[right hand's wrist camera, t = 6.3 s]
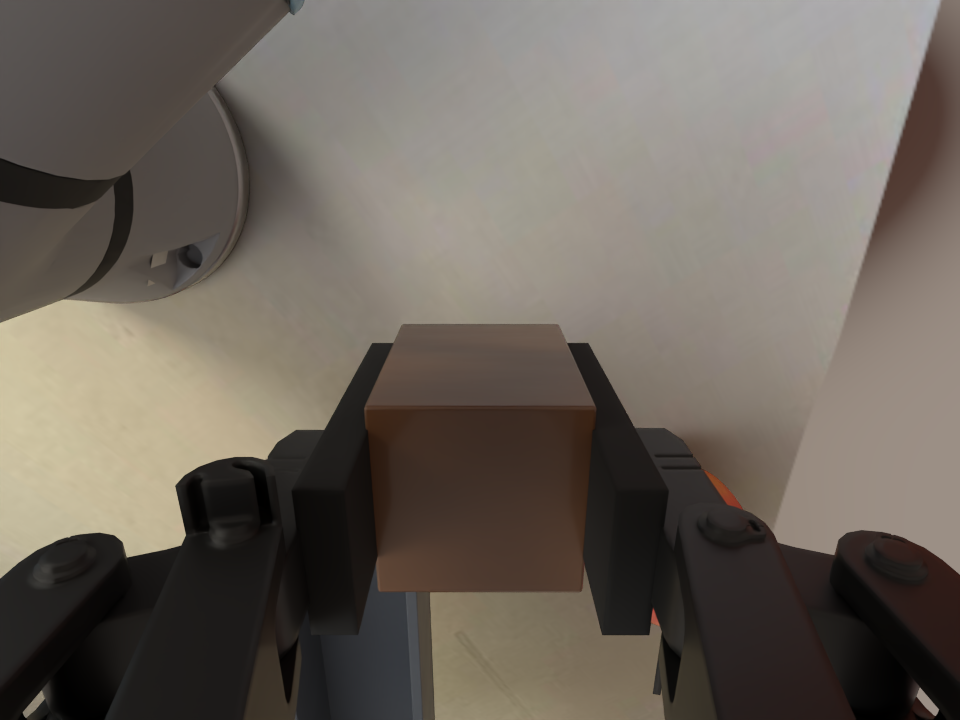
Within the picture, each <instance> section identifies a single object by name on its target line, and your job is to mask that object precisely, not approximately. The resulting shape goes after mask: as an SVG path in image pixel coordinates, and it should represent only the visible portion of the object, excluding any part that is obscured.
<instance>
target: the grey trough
mask: <svg viewBox="0 0 960 720" xmlns="http://www.w3.org/2000/svg"><path fill="white" fill-rule="evenodd" d="M298 635H299V642H300V648H301V655H302V661H301V670H300V679H299V688H298V698H297V707H296V716H295V720H435V713H434V688H433V664H432V639H431V614H430V592H380V591H379V590H378V583H377V570H376V566H375V570H374V574H373V578H372V582H371V586H370V590H369V594H368V598H367V602H366V606H365V610H364V614H363V618H362V622H361V626H360V630H359V634H358V635H311V630H310V623H309V616H308V610H307V613H306V615H305V618H304V621H303V623H302V626H301V629H300V631H299V634H298Z"/></svg>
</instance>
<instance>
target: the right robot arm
mask: <svg viewBox="0 0 960 720" xmlns="http://www.w3.org/2000/svg"><path fill="white" fill-rule="evenodd" d="M303 3H304V0H0V322H3V321H6V320H9V319H11V318H14V317H17V316H20V315H22V314H25V313H28V312H30V311H33V310H36V309H39V308H41V307H44V306H47V305H49V304H52V303H54V302H57V301H60V300H63V299H67V300H79V301H92V302H104V303H137V302H145V301H152V300H157V299H161V298H165V297H168V296H170V295H173V294H176V293H178V292H180V291H182V290H184V289H187V288H189V287H191V286H193V285H195V284H197V283H198V282H200V281H202V280H203V279H205V278H206V277H208V276H209V275H210V274H211V273H212V272H214V271H215V270H216V269H217V268H218V267H219V266H220V265H221V264H222V263H223V262H224V260H225V259H226V258H227V256H228V255H229V254H230V252H231V251H232V249H233V247H234V246H235V244H236V242H237V240H238V238H239V236H240V233H241V231H242V228H243V225H244V222H245V219H246V214H247V209H248V202H249V171H248V164H247V158H246V153H245V149H244V146H243V142H242V139H241V136H240V133H239V130H238V128H237V125H236V123H235V121H234V119H233V117H232V114H231V112H230V110H229V109H228V107H227V105H226V104H225V102H224V100H223V98H222V97H221V95H220V94H219V93H218V91H217V90H216V88H215V87H214V85H215V84H216V83H217V82H218V81H219V80H220V79H221V78H222V77H223V76H224V75H225V74H227V73H228V72H229V71H230V70H231V69H232V68H233V67H234V66H235V65H236V64H237V63H238V62H239V61H240V60H241V59H242V58H243V57H244V56H245V55H246V54H247V53H248V52H249V51H250V50H251V49H252V48H253V47H254V46H255V45H256V44H257V43H258V42H259V41H260V40H261V39H262V38H263V37H264V36H265V35H266V34H267V33H268V32H269V31H270V30H271V29H272V28H273V27H274V26H275V25H276V24H277V23H278V22H279V21H280V20H281V19H282V18H283V17H284V16H285V15H286V14H287V13H288V12H290V13H291V14H293V15H295V14H296V13H297V12H298V11H299V10H300V9H301V7H302V6H303ZM567 344H568V347H569V349H570V351H571V353H572V355H573V358H574V360H575V362H576V364H577V367H578V369H579V371H580V373H581V375H582V378H583V380H584V382H585V384H586V386H587V389H588V391H589V393H590V395H591V397H592V400H593V402H594V404H595V406H596V421H595V429H594V430H593V432H592V445H591V458H590V471H589V484H588V498H587V511H586V524H585V537H584V550H583V560H584V564H585V568H586V572H587V576H588V580H589V584H590V588H591V592H592V596H593V600H594V604H595V608H596V612H597V616H598V620H599V624H600V628H601V632H602V635H649V633H650V626H651V619H652V612H653V609H654V611H655V614H656V617H657V619H658V622H659V625H660V627H661V630H662V635H661V642H660V648H659V655H658V662H657V669H656V676H655V682H654V689H653V694H657V695H660V694H661V688H662V696H663V705H664V715H665V720H960V575H959V574H958V573H957V572H956V571H955V570H953V569H952V568H951V567H950V566H949V565H948V564H946V563H945V562H944V561H943V560H942V559H940V558H939V557H937V556H936V555H934V554H933V553H931V552H930V551H928V550H927V549H925V548H924V547H921V546H919V545H917V544H915V543H913V542H910V541H908V540H907V539H905V538H902V537H899V536H896V535H891V534H888V533H883V532H875V531H864V530H861V531H855V532H849V533H846V534H845V535H844V536H843V537H841V538H840V539H839V541H838V544H837V548H836V552H835V555H830V554H825V553H820V552H815V551H810V550H805V549H800V548H795V547H792V546H788V545H784V544H780V543H778V542H777V540H776V538H775V536H774V534H773V533H772V531H771V530H770V529H769V527H768V526H767V525H766V523H764V522H763V521H762V520H760V519H759V518H757V517H756V516H754V515H753V514H752V513H749V512H747V511H744V510H742V509H740V508H737V507H735V506H730V505H727V503H726V502H725V500H724V499H723V498H722V496H721V495H720V493H719V492H718V490H717V489H716V487H715V486H714V485H713V483H712V482H711V480H710V479H709V477H708V476H707V474H706V473H705V472H704V470H701V466H700V464H699V463H698V461H697V460H696V458H693V454H692V453H691V451H690V450H689V448H688V447H687V445H686V444H685V443H684V441H683V440H682V439H680V438H679V437H677V436H676V435H674V434H672V433H671V432H669V431H668V430H666V429H665V428H635V427H634V426H633V424H632V422H631V420H630V418H629V417H628V415H627V413H626V411H625V409H624V407H623V406H622V404H621V402H620V400H619V398H618V397H617V395H616V393H615V391H614V389H613V387H612V386H611V384H610V382H609V380H608V378H607V376H606V375H605V373H604V371H603V369H602V367H601V366H600V364H599V362H598V360H597V358H596V356H595V355H594V353H593V351H592V349H591V347H590V346H589V344H588V343H567ZM392 346H393V343H372V344H371V346H370V348H369V350H368V352H367V354H366V355H365V357H364V359H363V361H362V363H361V364H360V366H359V368H358V370H357V372H356V374H355V375H354V377H353V379H352V381H351V383H350V385H349V386H348V388H347V390H346V392H345V394H344V395H343V397H342V399H341V401H340V403H339V405H338V406H337V408H336V410H335V412H334V414H333V415H332V417H331V419H330V421H329V423H328V425H327V426H326V428H325V430H295V431H294V432H292V433H291V434H289V435H288V436H286V437H285V438H283V439H282V440H280V441H279V442H278V443H277V444H276V445H275V447H274V448H273V450H272V451H271V453H270V454H269V456H268V459H266V460H262V459H258V458H254V457H233V458H228V459H222V460H217V461H214V462H211V463H208V464H206V465H203V466H200V467H198V468H196V469H195V470H193V471H191V472H190V473H188V474H186V475H185V476H184V477H183V478H182V479H181V480H180V481H179V482H178V483H177V485H176V486H175V487H176V491H177V496H178V500H179V505H180V509H181V514H182V518H183V523H184V527H185V532H186V537H185V539H184V541H183V543H182V546H178V547H174V548H171V549H167V550H162V551H157V552H152V553H147V554H143V555H138V556H133V557H128V558H127V557H126V553H125V550H124V546H123V542H122V541H120V540H119V539H118V538H117V537H116V536H114V535H109V534H104V533H91V534H80V535H75V536H70V538H68V537H67V538H64V539H61V540H58V541H55V542H54V543H52V544H50V545H48V546H45V547H43V548H41V549H39V550H37V551H35V552H34V553H32V554H31V555H30V556H28V557H27V558H25V559H24V560H22V561H21V562H19V563H18V564H17V565H16V566H15V567H13V568H12V569H11V570H10V571H9V572H8V573H6V574H5V575H4V576H3V577H2V578H1V579H0V720H295V716H296V707H297V698H298V688H299V679H300V670H301V661H302V655H301V648H300V642H299V635H298V634H299V631H300V629H301V626H302V623H303V621H304V618H305V615H306V613H307V610H308V616H309V623H310V630H311V635H358V634H359V630H360V626H361V622H362V618H363V614H364V610H365V606H366V602H367V598H368V594H369V590H370V586H371V582H372V578H373V574H374V570H375V566H376V562H377V558H378V557H377V544H376V531H375V518H374V505H373V492H372V479H371V465H370V452H369V439H368V430H366V428H365V415H364V408H365V405H366V403H367V401H368V398H369V396H370V394H371V392H372V390H373V387H374V385H375V383H376V381H377V379H378V376H379V374H380V372H381V370H382V368H383V365H384V363H385V361H386V359H387V357H388V354H389V352H390V350H391V348H392ZM919 688H921V689H922V690H923V691H924V692H925V694H926V695H927V696H928V697H929V698H930V699H931V700H932V702H933V703H934V704H935V705H936V706H937V707H938V709H939V712H938V714H937V715H936V716H934V715H933V714H932V713H931V712H930V711H928V710H927V709H926V708H925V707H924V705H923V704H922V703H921V702H920V700H919V699H918V698H917V697H916V696H917V693H918V690H919ZM41 690H42V692H43V694H44V697H45V699H44V701H43V702H42V703H41V704H40V705H39V707H38V708H37V709H36V710H35V711H34V712H33V713H32V714H30V715H29V716H28V717H27V718H25V717H24V715H23V713H22V712H23V711H24V710H25V709H26V708H27V706H28V705H29V704H30V703H31V702H32V701H33V699H34V698H35V697H36V696H37V695H38V694H39V692H40V691H41Z"/></svg>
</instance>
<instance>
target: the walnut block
mask: <svg viewBox="0 0 960 720" xmlns="http://www.w3.org/2000/svg"><path fill="white" fill-rule="evenodd" d="M364 415H365V428H366V430H368V439H369V452H370V465H371V479H372V492H373V505H374V518H375V531H376V544H377V557H378V558H377V562H376V570H377V583H378V590H379V591H380V592H581V591H582V587H583V574H584V560H583V550H584V537H585V524H586V511H587V498H588V484H589V471H590V458H591V445H592V432H593V430H594V429H595V421H596V406H595V404H594V402H593V400H592V397H591V395H590V393H589V391H588V389H587V386H586V384H585V382H584V380H583V378H582V375H581V373H580V371H579V369H578V367H577V364H576V362H575V360H574V358H573V355H572V353H571V351H570V349H569V347H568V344H567V342H566V340H565V338H564V336H563V333H562V331H561V329H560V327H559V325H557V324H403V325H402V326H401V328H400V330H399V332H398V335H397V337H396V339H395V341H394V343H393V346H392V348H391V350H390V352H389V354H388V357H387V359H386V361H385V363H384V365H383V368H382V370H381V372H380V374H379V376H378V379H377V381H376V383H375V385H374V387H373V390H372V392H371V394H370V396H369V398H368V401H367V403H366V405H365V408H364Z"/></svg>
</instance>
